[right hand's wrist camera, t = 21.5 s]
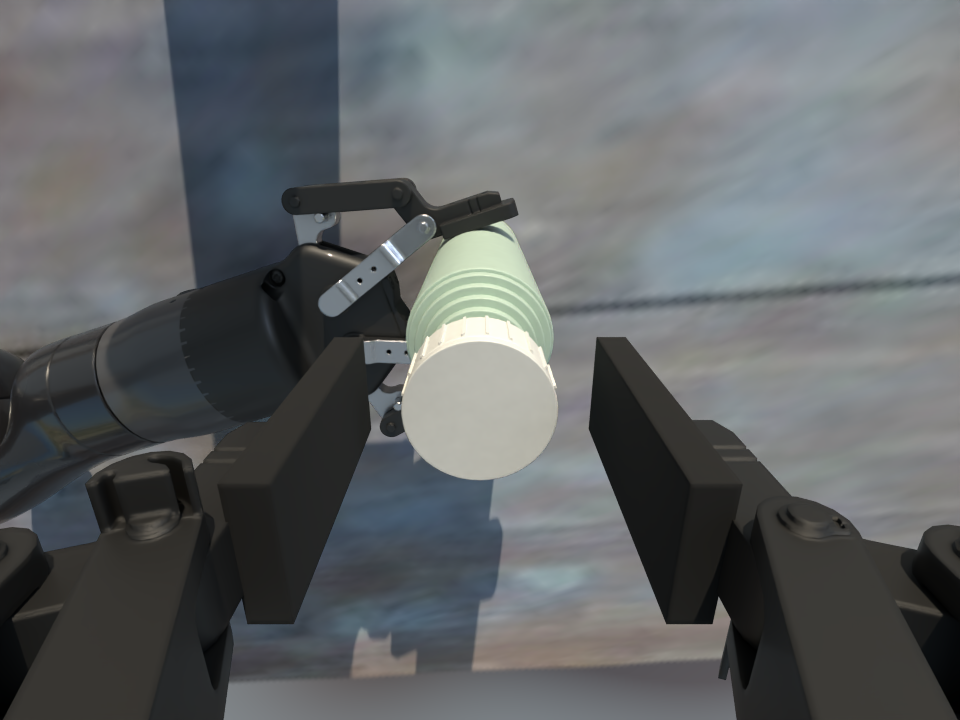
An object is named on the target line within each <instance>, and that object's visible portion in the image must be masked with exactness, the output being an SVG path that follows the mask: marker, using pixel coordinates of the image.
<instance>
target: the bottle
mask: <svg viewBox="0 0 960 720" xmlns="http://www.w3.org/2000/svg"><path fill="white" fill-rule="evenodd" d="M485 315H486V316H488V317H489V318H494V319H499V320H502V321H505V322H506V321H507V320H508V321H510V324H512V325H514V326H516V327H518V328H519V329H521V330H522V331H524V332H526V331H527V332H528V333H529V337H531V339H532V340H533V341H534V342H535V343H536V344H537V346H538V347H540V346H541V348H542V350H543V353H544V356H545V359H546V362H547V365H548V362H549V360H550V357H551V353H552V348H553V326H552V321H551V318H550V315H549V312H548V310H547V307H546V305H545V303H544V301H543V298H542V296H541V294H540V292H539V289H538V287H537V285H536V282H535V280H534V278H533V276H532V273H531V271H530V269H529V266H528V264H527V262H526V260H525V257H524V255H523V253H522V251H521V248H520V246H519V244H518V241H517V239H516V237H515V235H514V233H513V232H512V230H511V229H510V228H509V227H508V226H507V225H506V224H505V223H504V222H503V221H501V222H497V223H494V224H491V225H488V226H485V227H482V228H479V229H476V230H473V231H470V232H466V233H463V234H460V235H458V236H455V237H452V238H448V239H445V240H444V238H443V240H442V242H441V244H440V247H439V249H438V251H437V253H436V256H435V258H434V260H433V263H432V265H431V267H430V269H429V272H428V274H427V276H426V278H425V281H424V283H423V285H422V288H421V290H420V292H419V294H418V297H417V299H416V301H415V303H414V306H413V308H412V310H411V313H410V316H409V319H408V323H407V328H406V347H407V352H408V356H409V359H410V361H411V362H412V359H413V356H414V353H418V351H419V349H420V348H421V346H422V345H423V343H424V341H425V338H426V337H427V336H428V337H430V336H431V335H432V334H433V333H434V332H436V331H437V330H439V329H440V328H442V325H443V324H446V325H447V324H449V323H452V322H454V321H458V320H461V319H463V317H466V318H472V317H485Z"/></svg>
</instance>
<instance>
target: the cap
mask: <svg viewBox="0 0 960 720" xmlns="http://www.w3.org/2000/svg"><path fill="white" fill-rule="evenodd" d="M556 388H557V387H556V384H555V381H554V378H553V375H552V372H551V369H550V366H549V365H547V362H546V359H545V356H544V353H543V350H542V348H541V346H540V347H538V346H537V344H536V343H535V342H534V341H533V340H532V339H531V337H529V333H528V332H527V331H526V332H524V331H522V330H521V329H519V328H518V327H516V326H514V325H512V324H510V321H508V320H507V321H506V322H505V321H502V320H499V319H494V318H489V317H488V316H486V315H485V317H472V318H466V317H463V319H461V320H458V321H454V322H452V323H449V324H447V325H446V324H443V325H442V328H440V329H439V330H437V331H436V332H434V333H433V334H432V335H431V336H430V337H428V336H427V337H426V338H425V341H424V343H423V345H422V346H421V348H420V349H419V351H418V353H414V356H413V359H412V362H411V365H410V368H409V371H408V374H407V378H406V381H405V384H404V387H403V390H402V394H401V396H403V397H402V404H401V416H402V423H403V427H404V430H405V433H406V435H407V437H408V440H409V441H410V443H411V445H412V446H413V448H414V449H415V450H416V452H417V453H418V454H419V455H420V456H421V457H422V458H423V459H424V460H425V461H426V462H427V463H429V464H430V465H431V466H433V467H434V468H436V469H438V470H440V471H441V472H444V473H446V474H448V475H451V476H454V477H457V478H461V479H467V480H492V479H498V478H502V477H505V476H509V475H511V474H513V473H516V472H518V471H520V470H521V469H523V468H525V467H526V466H528V465H529V464H531V463H532V462H533V461H534V460H535V459H536V458H537V457H538V456H540V454H541V453H542V452H543V451H544V449H545V448H546V447H547V445H548V443H549V442H550V440H551V438H552V436H553V434H554V431H555V428H556V424H557V418H558V402H557V396H556V392H555V389H556Z"/></svg>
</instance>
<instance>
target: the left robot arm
mask: <svg viewBox="0 0 960 720" xmlns="http://www.w3.org/2000/svg"><path fill="white" fill-rule="evenodd" d="M282 205H283V207H284V209H285V210H286V211H287V212H288V213H290V214H292V215H293V220H294V225H295V230H296V235H297V240H298V245H299V246H297V247H296V248H295V249H294V250H293V251H292V252H291V253H290V254H289V256H288V257H287V258H286V259H285V260H283V261H280V262H278V263H275V264H272V265H269V266H266V267H263V268H260V269H257V270H254V271H251V272H248V273H245V274H242V275H239V276H236V277H233V278H230V279H227V280H224V281H221V282H218V283H215V284H212V285H209V286H206V287H203V288H200V289H192V290H187V291H184V292H181V293H180V294H178V295H177V296H176V297H173V298H170V299H167V300H164V301H161V302H158V303H155V304H153V305H151V306H148V307H146V308H144V309H142V310H140V311H138V312H137V313H135V314H133V315H131V316H129V317H127V318H124V319H122V320H119V321H117V322H114V323H111V324H108V325H105V326H102V327H99V328H96V329H93V330H90V331H87V332H84V333H81V334H77V335H74V336H71V337H68V338H65V339H62V340H59V341H56V342H53V343H51V344H49V345H47V346H45V347H42V348H40V349H39V350H37V351H35V352H34V353H32V354H31V355H30V356H29V357H28V358H27V359H26V360H25V361H23V360H22V359H21V358H19V357H17V356H16V355H14V354H12V353H9V352H7V351H4V350H2V349H0V524H2V523H4V522H6V521H9V520H11V519H13V518H15V517H17V516H19V515H21V514H23V513H24V512H26V511H28V510H30V509H32V508H33V507H35V506H37V505H38V504H40V503H42V502H43V501H45V500H46V499H48V498H49V497H51V496H52V495H54V494H55V493H56V492H58V491H59V490H61V489H62V488H64V487H65V486H66V485H68V484H69V483H70V482H72V481H73V480H75V479H76V478H78V477H79V476H81V475H82V474H84V473H86V472H87V471H89V470H91V469H92V468H94V467H96V466H98V465H100V464H102V463H103V462H105V461H108V460H110V459H113V458H116V457H119V456H122V455H125V454H128V453H131V452H134V451H138V450H141V449H144V448H148V447H151V446H155V445H158V444H161V443H164V442H168V441H173V440H177V439H183V438H190V437H197V436H202V435H207V434H211V433H215V432H219V431H222V430H225V429H229V428H232V427H235V426H239V425H242V424H245V423H247V422H252V421H256V420H259V419H262V418H266V417H269V416H272V415H273V413H274V412H275V411H276V410H277V408H278V407H279V406H280V405H281V403H282V402H283V401H284V400H285V398H286V397H287V396H288V395H289V393H290V392H291V391H292V390H293V388H294V387H295V386H296V385H297V383H298V382H299V381H300V380H301V378H302V377H303V376H304V375H305V373H306V372H307V371H308V370H309V368H310V367H311V366H312V365H313V363H314V362H315V361H316V360H317V358H318V357H319V356H320V355H321V353H322V352H323V351H324V350H325V348H326V347H327V346H328V345H329V343H330V342H331V341H332V340H333V338H334V337H363V340H364V351H365V363H366V375H367V386H368V398H369V402H370V403H371V405H372V406H373V407H374V409H375V410H376V411H377V413H378V414H379V415H380V417H381V418H382V421H381V423H380V430H381V432H382V433H383V434H384V435H386V436H388V437H395V436H397V435H399V434H401V433H403V432H405V430H404V427H403V423H402V416H401V404H402V397H403V396H401V394H402V390H403V387H404V385H403V384H400V385H397V386H393V387H390V386H386V385H385V384H383V383H382V382H383V381H384V380H385V378H386V377H387V375H388V374H389V373H390V371H391V370H392V369H393V367H394V366H395V364H396V363H397V364H411V361H410V359H409V356H408V352H407V351H406V350H407V347H406V328H407V323H408V319H409V316H410V310H409V309H408V307H407V306H406V304H405V303H404V302H403V300H402V299H401V296H400V287H399V281H398V279H397V276H396V273H395V271H394V269H395V268H396V267H398V266H399V265H400V264H401V263H402V262H403V261H404V260H405V259H407V258H408V257H409V256H410V255H411V254H413V253H414V252H415V251H416V250H418V249H419V248H420V247H421V246H423V245H424V244H425V243H426V242H427V241H429V240H430V239H433V238H436V237H439V236H442V235H443V238H444V240H445V239H448V238H452V237H455V236H458V235H460V234H463V233H466V232H470V231H473V230H476V229H479V228H482V227H485V226H488V225H491V224H494V223H497V222H501V221H504V220H507V219H510V218H513V217H515V216H517V215H518V211H517V207H516V204H515V200H514V199H513V198H510V199H506V200H503V201H501V198H500V195H499V192H496V191H485V192H482V193H479V194H477V195H473V196H470V197H468V198H464V199H461V200H458V201H455V202H452V203H449V204H446V205H443V206H439V207H437V206H432V205H430V204H428V203H427V202H426V201H425V200H424V198H423V197H422V196H421V195H420V193H419V192H418V191H417V189H416V186H415V184H414V183H413V182H412V181H411V180H410V179H407V178H396V179H383V180H370V181H357V182H344V183H331V184H318V185H307V186H300V187H295V188H290V189H287V190H286V191H285V192H284V193H283V195H282ZM387 208H394V209H395V210H396V211H397V213H398V214H399V215H400V216H401V217H402V219H403V220H404V221H405V222H406V225H404V226H403V227H402V228H401V229H400V230H398V231H397V232H396V233H395V234H394V235H392V236H391V237H390V238H389V239H388V240H386V241H385V242H384V243H383V244H382V245H380V246H379V247H378V248H377V249H375V250H374V251H373V252H372V253H371V254H369V255H365V254H362V253H359V252H356V251H353V250H349V249H346V248H343V247H340V246H337V245H334V244H331V243H328V242H325V241H322V234H323V232H324V230H325V229H329V228H331V227H333V226H335V225H336V224H337V223H338V222H339V220H340V217H341V214H340V212H347V211H360V210H373V209H387Z"/></svg>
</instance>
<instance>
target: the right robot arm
mask: <svg viewBox="0 0 960 720" xmlns="http://www.w3.org/2000/svg"><path fill="white" fill-rule="evenodd" d="M370 431H371V421H370V409H369V398H368V386H367V375H366V363H365V351H364V340H363V337H334V338H333V340H332V341H331V342H330V343H329V345H328V346H327V347H326V348H325V350H324V351H323V352H322V353H321V355H320V356H319V357H318V358H317V360H316V361H315V362H314V363H313V365H312V366H311V367H310V368H309V370H308V371H307V372H306V373H305V375H304V376H303V377H302V378H301V380H300V381H299V382H298V383H297V385H296V386H295V387H294V388H293V390H292V391H291V392H290V393H289V395H288V396H287V397H286V398H285V400H284V401H283V402H282V403H281V405H280V406H279V407H278V408H277V410H276V411H275V412H274V413H273V415H272V416H271V417H270V418H269V420H268V421H267V422H247V423H245V424H244V425H242V426H240V427H239V428H237V429H235V430H233V431H232V432H230V433H228V434H227V435H226V436H225V437H224V438H223V439H222V440H221V442H220V443H219V444H218V445H217V446H216V447H215V448H214V451H211V453H210V454H209V455H208V456H207V457H206V458H205V459H204V460H203V461H204V462H203V463H201V464H200V465H199V466H198V467H197V468H196V469H195V470H194V468H193V463H192V459H191V458H189V457H188V456H186V455H185V454H184V453H179V452H173V451H160V452H149V453H145V454H140V455H136V456H132V457H129V458H126V459H124V460H121V461H118V462H116V463H113V464H111V465H109V466H108V467H106V468H104V469H103V470H101V471H99V472H97V473H96V474H95V475H94V476H93V477H92V478H91V479H90V480H89V481H88V482H87V483H86V484H85V485H86V488H87V491H88V495H89V498H90V501H91V504H92V507H93V510H94V513H95V516H96V519H97V522H98V525H99V528H100V531H101V534H100V536H99V538H98V540H97V541H96V542H92V543H88V544H83V545H78V546H73V547H68V548H63V549H58V550H53V551H48V552H43V549H42V547H41V544H40V542H39V539H38V536H37V534H35V533H34V532H32V531H31V530H30V529H27V528H16V527H10V528H4V529H0V720H223V719H224V712H225V704H226V697H227V689H228V682H229V675H230V667H231V660H232V652H233V645H234V643H233V635H232V630H231V626H230V619H231V617H232V615H233V614H234V612H235V610H236V608H237V606H238V604H239V602H240V601H241V599H242V601H243V606H244V610H245V615H246V619H247V624H294V622H295V619H296V617H297V614H298V612H299V609H300V607H301V604H302V602H303V599H304V597H305V594H306V592H307V589H308V587H309V584H310V582H311V579H312V577H313V574H314V572H315V569H316V567H317V564H318V562H319V559H320V557H321V554H322V552H323V549H324V546H325V544H326V541H327V539H328V536H329V534H330V531H331V529H332V526H333V524H334V521H335V519H336V516H337V514H338V511H339V509H340V506H341V504H342V501H343V499H344V496H345V494H346V491H347V489H348V486H349V484H350V481H351V479H352V476H353V474H354V471H355V469H356V466H357V463H358V461H359V458H360V456H361V453H362V451H363V448H364V446H365V443H366V441H367V438H368V436H369V433H370ZM589 431H590V433H591V436H592V438H593V441H594V443H595V446H596V448H597V451H598V453H599V456H600V458H601V461H602V463H603V466H604V469H605V471H606V474H607V476H608V479H609V481H610V484H611V486H612V489H613V491H614V494H615V496H616V499H617V501H618V504H619V506H620V509H621V511H622V514H623V516H624V519H625V521H626V524H627V526H628V529H629V531H630V534H631V536H632V539H633V541H634V544H635V547H636V549H637V552H638V554H639V557H640V559H641V562H642V564H643V567H644V569H645V572H646V574H647V577H648V579H649V582H650V584H651V587H652V589H653V592H654V594H655V597H656V599H657V602H658V604H659V607H660V609H661V612H662V614H663V617H664V619H665V622H666V624H713V619H714V615H715V610H716V606H717V601H718V596H719V598H720V600H721V601H722V603H723V605H724V607H725V609H726V611H727V613H728V614H729V616H730V618H731V621H730V626H729V630H728V634H727V638H726V643H725V647H724V651H723V655H722V660H721V664H720V670H719V677H718V678H720V679H724V680H726V677H727V673H728V669H729V668H730V673H731V681H732V688H733V696H734V703H735V710H736V718H737V720H960V526H954V525H940V526H932V527H931V528H929V529H928V530H926V531H925V532H924V534H923V536H922V539H921V542H920V544H919V547H918V549H917V550H914V549H909V548H904V547H899V546H894V545H889V544H884V543H879V542H874V541H869V540H866V539H862V537H861V535H860V533H859V532H858V530H857V529H856V528H855V527H854V526H853V524H852V523H851V522H850V521H849V520H848V519H846V518H845V517H843V516H842V515H840V514H839V513H838V512H836V511H835V510H833V509H831V508H828V507H826V506H824V505H822V504H819V503H817V502H814V501H811V500H807V499H803V498H799V497H792V496H791V495H790V494H789V493H788V492H787V491H786V490H785V488H784V487H783V486H782V485H781V484H780V483H779V482H778V481H777V480H776V479H775V478H774V476H773V475H772V474H771V473H770V472H769V471H768V470H767V469H766V468H765V467H764V466H763V464H762V463H761V462H760V461H757V458H756V457H755V456H754V455H753V453H752V452H751V451H750V450H749V449H746V446H745V445H744V444H743V443H742V441H741V440H740V439H739V438H738V437H737V436H736V435H735V434H734V433H733V432H732V431H730V430H728V429H727V428H725V427H723V426H721V425H720V424H718V423H716V422H714V421H713V420H691V418H690V417H689V416H688V415H687V413H686V412H685V411H684V410H683V408H682V407H681V406H680V405H679V403H678V402H677V401H676V400H675V398H674V397H673V396H672V395H671V393H670V392H669V391H668V390H667V388H666V387H665V386H664V385H663V383H662V382H661V381H660V380H659V378H658V377H657V376H656V375H655V373H654V372H653V371H652V370H651V368H650V367H649V366H648V365H647V363H646V362H645V361H644V360H643V358H642V357H641V356H640V355H639V353H638V352H637V351H636V350H635V348H634V347H633V346H632V345H631V343H630V342H629V341H628V340H627V338H626V337H597V340H596V351H595V363H594V375H593V386H592V398H591V409H590V421H589Z"/></svg>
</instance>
